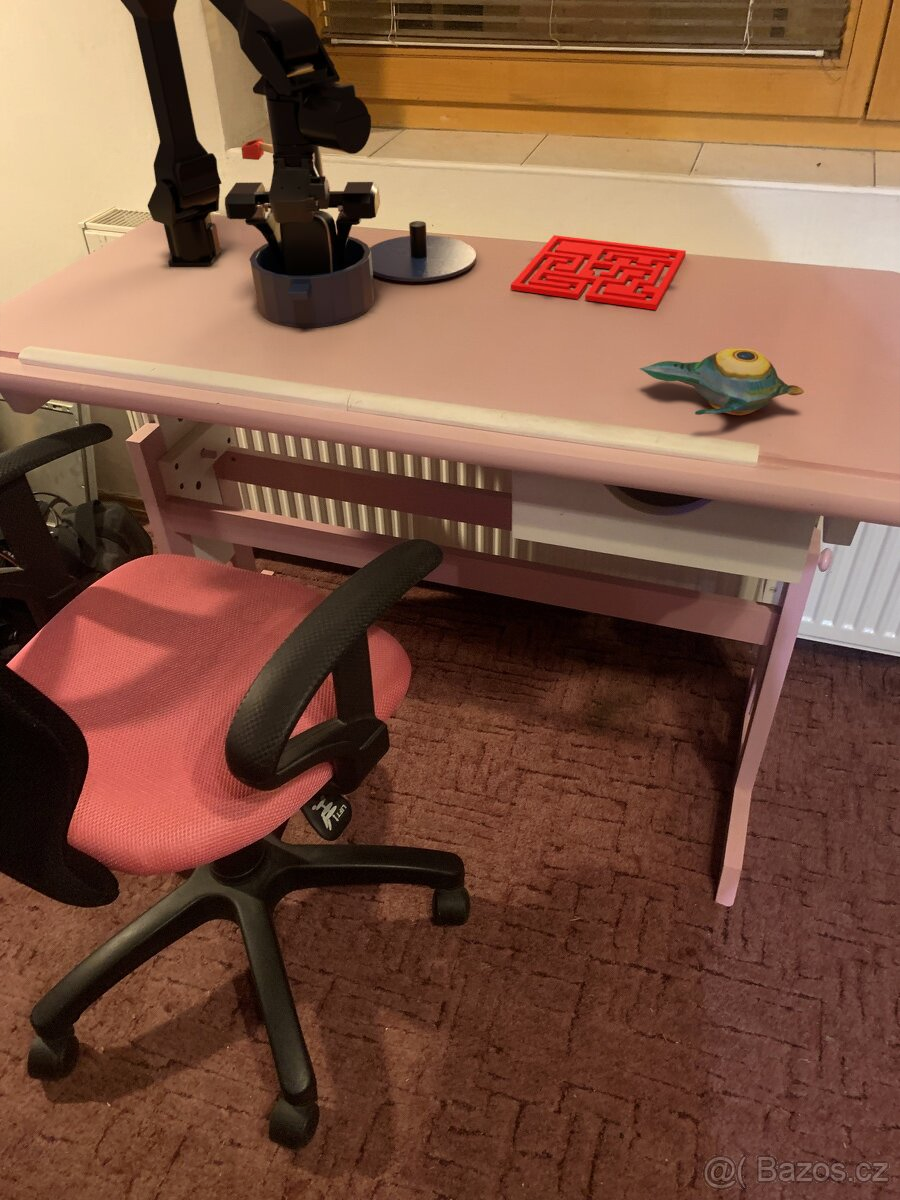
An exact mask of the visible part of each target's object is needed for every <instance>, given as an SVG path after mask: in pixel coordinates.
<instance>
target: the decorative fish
mask: <svg viewBox="0 0 900 1200" xmlns="http://www.w3.org/2000/svg"><path fill="white" fill-rule="evenodd" d="M638 370H640V371H643V372H644V373H645V374H647V375H648V376H650V377H652V378H653V379H655V380H659V381H664V382H680V383H683V384H686V385H689V386H691V387H693V388H694V389H695V390H696V392H697V393H698V394H699V396H701V398H702V399H703V400H704V401H706V402H707V403H708V404H709V405H710V406H711V407H712V408H713V409H712V408H711V409H710V408H709V409H705V408H704V409H703V408H702V409H698V410H696V411H695V412H694V414H695V415H696V416H700V415H705V414H706V415H710V414H711V415H712V414H715V415H716V414H721V413H722V414H723V413H725V414H727V415H732V416H745V415H748V414H751V413H753V412H756V411H758V410H760V409H762V408H764V407H765V406H767V405H768V404H769V403H770V402H771V401H772V400H773V399H774V398H776V397H779V396H782V395H790V396H799V395H803V394H804V393H805V391H804V389H803V388H801V387H799V386H797V385H791V384H790V385H788V384H787V383H786V382H784V381H783V380H782V379H781V378H780V377H779V376H778V372H777V370H776V368H775V367H774V365H773V363H772V362H771V361H770V360H769V359H768V358H767V357H766V356H765V355H764V354H762V353H761V352H759V351H757V350H754V349H747V348H732V347H731V348H726V349H722V350H720V351H718V352H715V353H712V354H711V355H708V356H707V357H705V358H703V359H702V360H701V361H693V362H682V361H675V360H674V361H673V360H664V361H663V360H662V361H660V362H655V363H653V364H650V365H647V366H644V367H640V368H638Z"/></svg>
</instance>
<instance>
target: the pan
mask: <svg viewBox="0 0 900 1200" xmlns="http://www.w3.org/2000/svg"><path fill="white" fill-rule="evenodd" d="M249 263H250V266H251V267H250V269H251V273H252V274H251V275H252V279H253V285H254V291H255V297H256V303H257V307H258V308H257V309H258V312H259V313H260V315H261V316H262V317H263V318H264V319H266V320H267V321H269V322H272V323H274V324H276V325H279V326H280V325H281V326H284V327H290V328H299V329H310V328H311V329H312V328H314V329H315V328H325V327H332V326H336V325H341V324H345V323H347V322H351V321H353V320H355V319H358V318H360V317H362V316H363V315H365V314H366V313H368V311H370V310H371V309H372V307H373V305H374V303H375V296H376V295H375V283H374V274H373V270H372V257H371V250H370V247H369V245H368V244H367V243H366V242H364V241H362V240H360V239H358V238H356V237H352V236H349V238H348V242H347V247H346V252H345V256H344V261H343V266H342V269H338V263H337V253H336V254H335V255H334V269H335V272H332V273H328V274H320V275H312V276H289V275H287V274H286V268H285V269H281V267H280V265H279V263H278V262H277V260H276V258H275V256H274V254H273V252H272V250H271V248H270V246H269V244H268V242H267V243H265V244H262V245H261V246H259V247H258V248H257V249H256V250H254V251H253V252H252V254H251V256H250V257H249Z"/></svg>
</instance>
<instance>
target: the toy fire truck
mask: <svg viewBox="0 0 900 1200" xmlns="http://www.w3.org/2000/svg"><path fill="white" fill-rule="evenodd" d="M240 149H241V155H242V157H241V158H242V159H243V160H251V161H254V160H255V161H259V160H260V159H261V158H262V156H263V155H264V154H265V152H266V153H269V154H272V155H273V154H274V153H273V146H272V144H270V143H266V142H265V141H264V139H263V138H257V139H253V140H250V141H246V142H245V143H244V144H243V145H242V147H241V148H240ZM324 177H326V175H324ZM326 180H327V182H328V186H329V191H331V187H330V181H329V180H328V178H327V177H326ZM268 192H270V190H269V191H268Z"/></svg>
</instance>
